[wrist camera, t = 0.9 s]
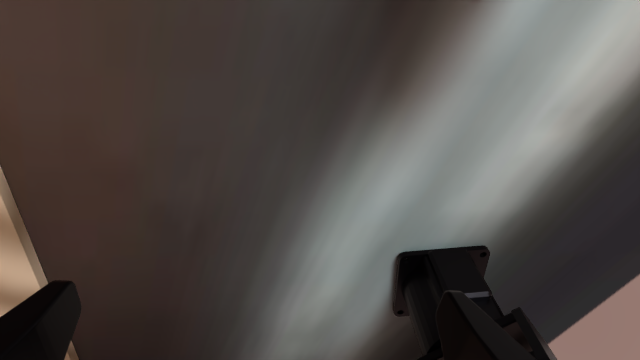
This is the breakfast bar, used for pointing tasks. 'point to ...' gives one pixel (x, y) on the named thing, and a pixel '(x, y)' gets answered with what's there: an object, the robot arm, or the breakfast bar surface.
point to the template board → (18, 258)
